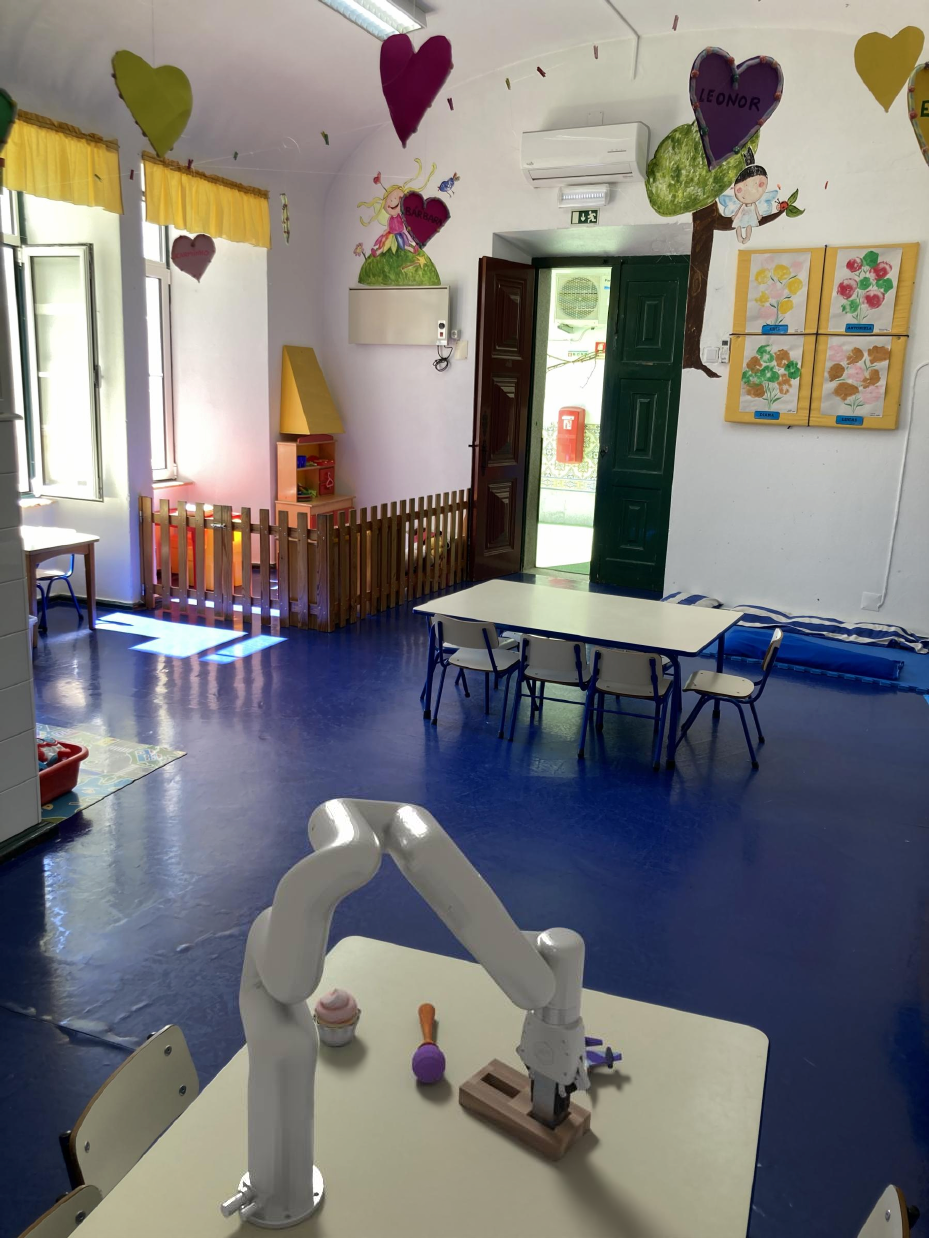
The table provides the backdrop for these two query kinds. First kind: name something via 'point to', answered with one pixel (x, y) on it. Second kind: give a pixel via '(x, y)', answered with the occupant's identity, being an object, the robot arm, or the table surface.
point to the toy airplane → (598, 1055)
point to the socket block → (520, 1109)
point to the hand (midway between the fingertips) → (549, 1103)
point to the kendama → (428, 1049)
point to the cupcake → (336, 1017)
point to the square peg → (545, 1101)
